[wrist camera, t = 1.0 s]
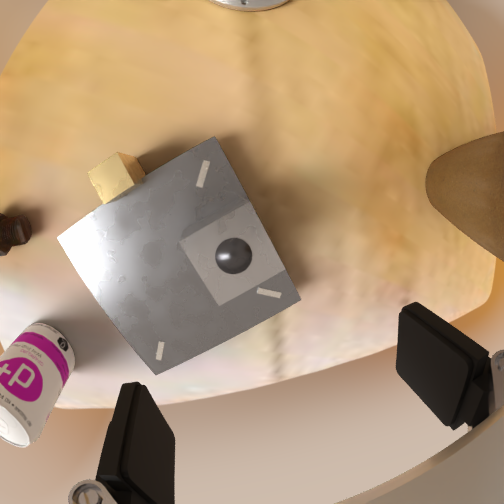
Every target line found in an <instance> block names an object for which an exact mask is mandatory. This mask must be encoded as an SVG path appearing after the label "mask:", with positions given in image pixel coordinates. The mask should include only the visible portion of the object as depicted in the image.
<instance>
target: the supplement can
mask: <svg viewBox="0 0 504 504" xmlns="http://www.w3.org/2000/svg"><path fill="white" fill-rule="evenodd" d="M74 365H75V357H74V353H73V350H72V348H71V346H70V344H69V343H68V341H67V340H66V339H65V337H64V336H63V335H62V334H61V333H60V332H59V331H57V330H56V329H54V328H53V327H51V326H49V325H46V324H43V323H33V324H31V325H30V326H28V327H27V328H26V329H25V330H24V331H23V332H22V333H21V334H20V335H19V336H18V337H17V339H16V340H15V341H14V342H13V343H12V344H11V345H10V346H9V347H8V348H7V350H6V351H5V352H4V353H3V354H2V356H0V438H2V439H3V440H5V441H6V442H8V443H10V444H12V445H14V446H18V447H27V446H28V445H29V444H31V443H33V442H35V441H36V440H37V439H38V438H39V437H40V434H41V432H42V430H43V428H44V426H45V424H46V422H47V419H48V417H49V415H50V413H51V411H52V409H53V407H54V405H55V403H56V401H57V399H58V397H59V395H60V393H61V391H62V389H63V388H64V386H65V384H66V382H67V380H68V378H69V376H70V374H71V373H72V371H73V369H74Z"/></svg>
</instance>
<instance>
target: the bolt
mask: <svg viewBox="0 0 504 504" xmlns="http://www.w3.org/2000/svg"><path fill="white" fill-rule="evenodd" d="M30 237H31V228H30V223H29V221H28V220H27V218H26V217H25V216H24V215H19V216H16V217H11V218H8V217H7V216H5V215H4V214H1V213H0V256H4V255H7V253H8V252H9V251H10V249H11V247H12V246H16V245H22V244H26V243H27V242H28V241H29V240H30Z"/></svg>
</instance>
